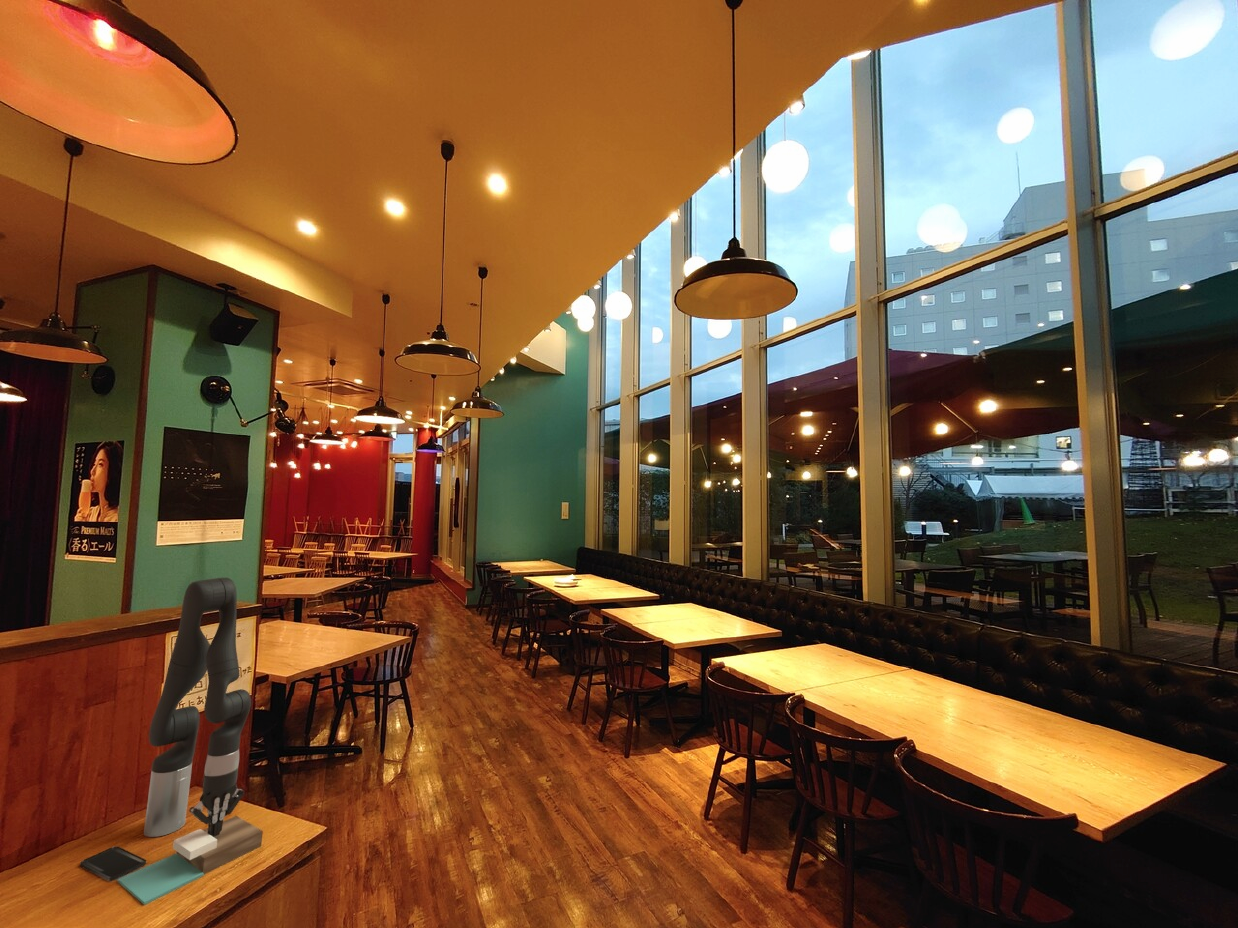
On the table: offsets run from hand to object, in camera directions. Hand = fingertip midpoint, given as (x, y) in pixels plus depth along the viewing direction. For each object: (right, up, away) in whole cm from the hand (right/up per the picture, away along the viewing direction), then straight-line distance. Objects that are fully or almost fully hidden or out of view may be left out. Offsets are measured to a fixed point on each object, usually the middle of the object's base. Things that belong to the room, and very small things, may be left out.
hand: (214, 834), depth 142 cm
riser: (+1, -5, +1) cm, 5 cm away
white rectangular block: (-2, 0, -4) cm, 5 cm away
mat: (-6, -4, -10) cm, 12 cm away
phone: (-22, -4, -6) cm, 23 cm away
